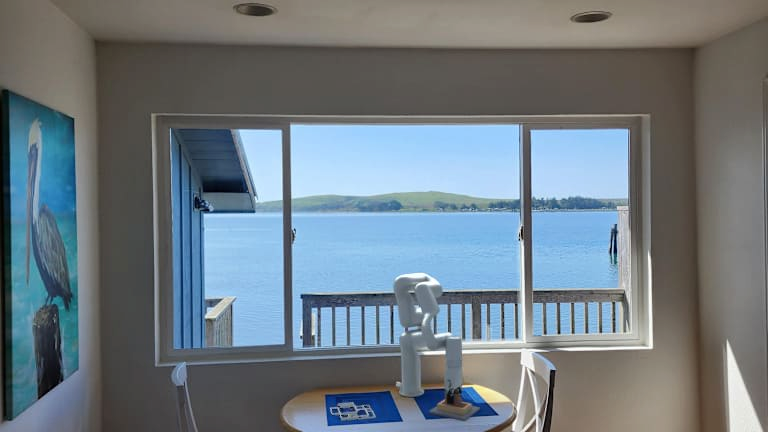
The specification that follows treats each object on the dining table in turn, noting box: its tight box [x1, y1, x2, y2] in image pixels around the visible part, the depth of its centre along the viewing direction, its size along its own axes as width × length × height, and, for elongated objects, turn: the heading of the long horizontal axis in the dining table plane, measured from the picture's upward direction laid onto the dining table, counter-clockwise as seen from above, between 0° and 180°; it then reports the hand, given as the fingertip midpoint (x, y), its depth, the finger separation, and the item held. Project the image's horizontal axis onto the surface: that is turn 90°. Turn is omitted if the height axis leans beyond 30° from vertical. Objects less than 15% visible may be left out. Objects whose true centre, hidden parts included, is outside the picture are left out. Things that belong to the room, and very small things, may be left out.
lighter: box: [444, 387, 463, 408], centre depth 269 cm, size 8×3×10 cm, turn 63°
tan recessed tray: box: [428, 398, 481, 422], centre depth 269 cm, size 18×16×4 cm
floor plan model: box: [329, 401, 377, 422], centre depth 270 cm, size 19×25×2 cm
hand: (454, 400), depth 269 cm, fingers open, 7 cm apart
